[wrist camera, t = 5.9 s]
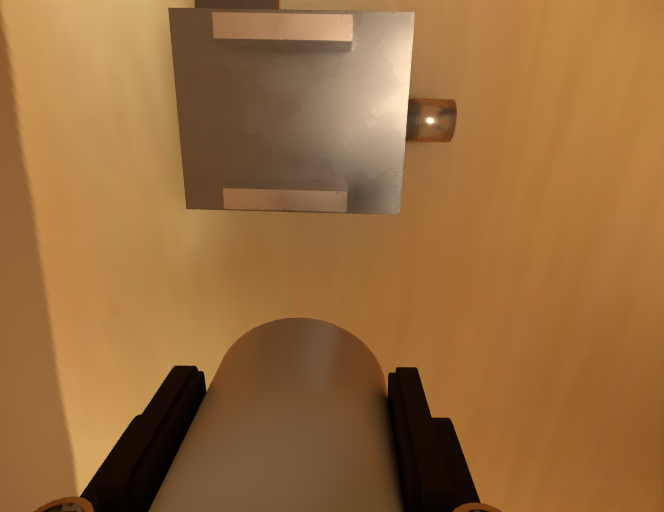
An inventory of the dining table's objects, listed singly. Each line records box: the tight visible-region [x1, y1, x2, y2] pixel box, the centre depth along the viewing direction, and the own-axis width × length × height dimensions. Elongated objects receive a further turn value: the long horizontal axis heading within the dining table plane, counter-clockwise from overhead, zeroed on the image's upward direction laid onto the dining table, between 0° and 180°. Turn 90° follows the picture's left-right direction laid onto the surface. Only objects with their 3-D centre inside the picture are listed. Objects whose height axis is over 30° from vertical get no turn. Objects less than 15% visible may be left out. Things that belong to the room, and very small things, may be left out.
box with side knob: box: [168, 0, 457, 215], centre depth 23 cm, size 15×12×9 cm
